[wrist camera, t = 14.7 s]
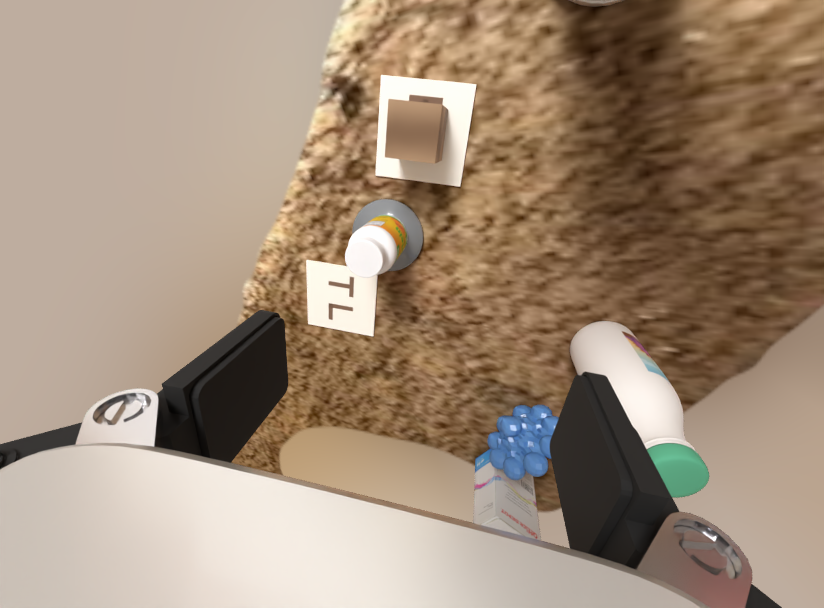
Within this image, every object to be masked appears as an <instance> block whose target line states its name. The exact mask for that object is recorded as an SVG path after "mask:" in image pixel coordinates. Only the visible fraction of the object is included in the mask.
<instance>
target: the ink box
mask: <svg viewBox="0 0 824 608" xmlns="http://www.w3.org/2000/svg"><path fill="white" fill-rule="evenodd" d="M491 450H492V449H489V450H488V451H486V452H485V453H483V454H482V455H481V456H479V457H478V458H476V461H475V489H474V516H473V523H475V524H479V525H483V526H487V527H491V528H495V529H499V530H503V531H506V532H510V533H514V534H518V535H522V536H526V537H529V538H533V539H537V540H540V541H541V536H540V528H539V521H538V513H537V505H536V497H535V489H534V481H533V476H532V475H531V474H529V473H527V471H526V474H525V476H524V477H523V478H522V479H520V480H511V479H510V478H508V477H507V476H506V475H505V473H504V471H503V470H500V469H496V468H495V467H493V466H492V464H491V463H490V458H489V456H490V452H491Z"/></svg>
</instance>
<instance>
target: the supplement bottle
mask: <svg viewBox="0 0 824 608" xmlns="http://www.w3.org/2000/svg"><path fill="white" fill-rule="evenodd" d="M407 241H408V234H407V230H406V228H405V226H404V224H403V223H402V222H401V221H400V220H399V219H398V218H396V217H394V216H391V215H380V216H377V217H375V218H373V219H372V220H371V221H369V222H368V223H366V224H365V225H364V226H362V227H361V228H359V229H358V230H357V231H355V233H354V234H353V235H352V236H351V238H350V240H349V243H348V248H347V250H346V253H345V261H346V264H347V266H348V268H349V269H350V271H351V272H352V273H354V274H355V275H357V276H359V277H363V278H370V277H373V276H375V275H378V274H382V273H384V272H386V271H387V270H389V269H390V268H391V267H392V266H393V264H394V263H395V261H396V260H397V259H398V257H399V256H400V255H401V253H402V252H403V250H404V249H405V247H406V245H407Z"/></svg>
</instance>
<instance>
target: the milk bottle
mask: <svg viewBox="0 0 824 608" xmlns="http://www.w3.org/2000/svg"><path fill="white" fill-rule="evenodd" d="M570 355H571V358H572V361H573V363H574V366H575V368H576V371H577V373H578V375H582V373H583V372H585V371H586V372H591V373H596V374H601V375H605V376H607V378H608V380H609V382H610V383H611V385H612V387H613V389H614V391H615V393H616V395H617V397H618V399H619V401H620V403H621V405H622V407H623V409H624V410H625V412H626V414H627V416H628V418H629V420H630V422H631V424H632V426H633V427H634V428H635V429H636V431H637V432H638V434H639V436H640V438H641V440H642V441H643V443H644V445H645V447H646V449H647V451H648V453H649V455H650V457H651V459H652V460H653V462H654V464H655V466H656V468H657V470H658V472H659V474H660V476H661V478H662V479H663V481H664V483H665V485H666V487H667V489H668V491H669V493H670V495H671V497H685V496H689V495H692V494H695V493H697V492H698V491H700V490H701V489H702V488H704V487H705V485H706V484H707V482H708V480H709V472H708V469H707V467H706V465H705V463H704V462H703V460H702V459H701V457H700V456H699V455H698V454H697V452H696V450H695V449H694V447H693V446H692V445H691V444H689V443H688V442H686V439H685V435H684V415H683V409H682V405H681V402H680V399H679V397H678V395H677V393H676V391H675V390H674V388H673V387H672V385H671V384H670V382H669V381H668V379H667V378H666V376H665V375H664V374H663V372H662V371H661V370H660V368H659V367H658V366H657V364H656V363H655V362H654V360H653V359H652V358H651V356H650V355H649V354H648V352H647V351H646V350H645V349H644V347H643V346H642V345H641V343H640V342H639V341H638V339H637V338H636V337H635V336H634V335H633V333H632V332H631V331H630V330H629V329H628V328H627V327H625V326H623V325H621V324H619V323H616V322H611V321H599V322H594V323H591V324H589V325H586V326H585V327H583V328H582V329H580V330H579V331H578V332H577V333H576V334H575V336H574V337H573V339H572V341H571V344H570Z"/></svg>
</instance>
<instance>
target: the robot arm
mask: <svg viewBox="0 0 824 608" xmlns="http://www.w3.org/2000/svg"><path fill="white" fill-rule="evenodd" d="M569 1H571V2H574V3H576V4H579V5H584V6H591V7H597V6H607V5H611V4H614V3H618V2H621V1H624V0H569ZM162 387H163V389H162V390H161V391H160V392H159V393H157V394H156V393H154V392H153V391H151V390H147V389H129V390H125V391H121V392H117V393H114V394H112V395H109V396H107V397H105V398H103V399H102V400H100V401H99V402H97V403H95V404H94V405H93V406H92V407H91V408H90V409H89V410H88V411H87V413H86V415H85V416H84V419H83V422H82V423H78V424H75V425H71V426H68V427H64V428H60V429H56V430H52V431H48V432H45V433H41V434H38V435H33V436H30V437H26V438H23V439H19V440H15V441H11V442H7V443H4V444H0V608H782V607H780V606H779V605H778V604H776V603H775V602H774V601H773V600H771V599H770V598H769V597H768V596H766V595H765V594H764V593H762V592H761V591H760V590H759V589H758V588H756V587H755V586H754V585H752V584H751V583H752V569H751V567H750V564H749V562H748V559H747V558H746V556H745V555H744V553H743V552H742V551H741V549H740V548H739V546H738V545H737V544H736V543H735V542H734V541H733V540H732V539H731V538H730V537H729V536H728V535H727V534H725V533H724V532H723V531H722V530H720V529H719V528H718V527H716V526H715V525H713V524H712V523H710V522H708V521H706V520H705V519H703V518H701V517H698V516H696V515H693V514H690V513H685V512H679V510H678V508H677V506H676V504H675V502H674V501H673V499H672V497H671V495H670V493H669V491H668V489H667V487H666V485H665V483H664V481H663V479H662V478H661V476H660V474H659V472H658V470H657V468H656V466H655V464H654V462H653V460H652V459H651V457H650V455H649V453H648V451H647V449H646V447H645V445H644V443H643V441H642V440H641V438H640V436H639V434H638V432H637V431H636V429H635V428H634V427H633V426H632V424H631V422H630V420H629V418H628V416H627V414H626V412H625V410H624V409H623V407H622V405H621V403H620V401H619V399H618V397H617V395H616V393H615V391H614V389H613V387H612V385H611V383H610V382H609V380H608V378H607V376H605V375H601V374H596V373H591V372H586V371H585V372H583V373H582V375H576V376H575V378H574V380H573V383H572V385H571V388H570V390H569V393H568V396H567V398H566V401H565V403H564V406H563V409H562V411H561V414H560V416H559V419H558V422H557V424H556V427H555V429H554V432H553V435H552V437H551V440H550V455H551V460H552V464H553V469H554V474H555V479H556V483H557V488H558V493H559V498H560V502H561V507H562V512H563V517H564V521H565V526H566V531H567V536H568V540H569V545H570V549H569V548H566V547H562V546H559V545H555V544H551V543H548V542H544V541H540V540H537V539H533V538H529V537H526V536H522V535H518V534H514V533H510V532H506V531H503V530H499V529H495V528H491V527H487V526H483V525H479V524H475V523H471V522H467V521H463V520H459V519H455V518H452V517H447V516H444V515H440V514H436V513H431V512H428V511H424V510H420V509H416V508H412V507H408V506H404V505H400V504H396V503H392V502H388V501H384V500H380V499H376V498H372V497H368V496H364V495H360V494H356V493H352V492H348V491H344V490H340V489H336V488H332V487H328V486H324V485H320V484H316V483H311V482H307V481H303V480H299V479H295V478H291V477H286V476H283V475H279V474H275V473H270V472H266V471H262V470H258V469H254V468H250V467H246V466H242V465H237V464H233V463H231V462H232V460H233V459H234V458H235V456H236V455H237V454H238V453H239V451H240V450H241V449H242V448H243V446H244V445H245V444H246V442H247V441H248V440H249V439H250V437H251V436H252V435H253V434H254V432H255V431H256V430H257V428H258V427H259V426H260V425H261V423H262V422H263V421H264V420H265V418H266V417H267V416H268V414H269V413H270V412H271V411H272V409H273V408H274V407H275V406H276V404H277V403H278V402H279V400H280V399H281V398H282V397H283V395H284V394H285V392H286V390H287V387H288V372H287V356H286V341H285V325H284V320H283V319H282V318H280V316H279V314H278V313H274V312H269V311H264V310H259V311H258V312H256V313H255V314H254V315H252V316H251V317H250V318H248V319H247V320H246V321H244V322H243V323H242V324H240V325H239V326H238V327H236V328H235V329H234V330H232V331H231V332H230V333H228V334H227V335H226V336H225V337H224V338H222V339H221V340H219V341H218V342H217V343H215V344H214V345H213V346H211V347H210V348H209V349H207V350H206V351H205V352H204V353H202V354H201V355H199V356H198V357H197V358H195V359H194V360H193V361H192V362H190V363H189V364H187V365H186V366H185V367H184V368H182V369H181V370H180V371H178V372H177V373H176V374H174V375H173V376H172V377H170V378H169V379H168V380H166V381H165V382H164V383H162Z"/></svg>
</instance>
